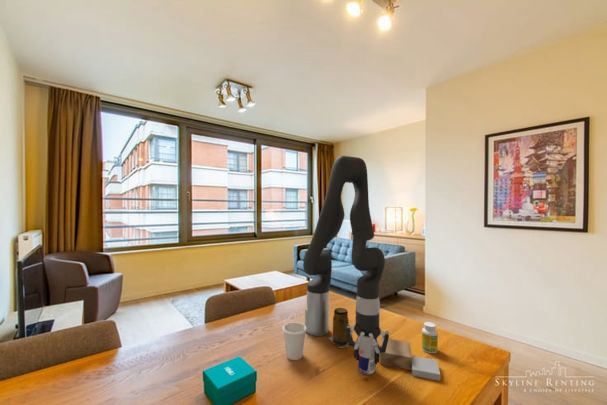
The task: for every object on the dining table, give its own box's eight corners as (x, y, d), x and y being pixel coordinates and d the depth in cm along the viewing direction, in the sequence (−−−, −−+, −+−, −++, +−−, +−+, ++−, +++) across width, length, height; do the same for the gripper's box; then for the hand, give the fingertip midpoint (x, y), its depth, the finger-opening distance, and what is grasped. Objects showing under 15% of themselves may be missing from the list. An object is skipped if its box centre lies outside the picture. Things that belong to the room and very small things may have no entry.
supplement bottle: (426, 344, 105) (427, 319, 105) (440, 351, 101) (440, 325, 101) (418, 348, 102) (419, 323, 102) (432, 355, 98) (432, 329, 98)
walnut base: (380, 363, 93) (380, 352, 92) (381, 348, 102) (381, 337, 102) (411, 369, 89) (411, 357, 89) (409, 353, 99) (410, 342, 99)
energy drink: (356, 365, 91) (356, 329, 91) (371, 364, 92) (372, 329, 92) (360, 375, 86) (361, 337, 86) (377, 375, 87) (378, 337, 86)
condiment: (343, 334, 112) (343, 305, 112) (355, 344, 105) (356, 313, 104) (327, 338, 109) (328, 308, 109) (339, 349, 101) (339, 317, 101)
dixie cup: (278, 359, 94) (278, 330, 94) (288, 347, 102) (288, 320, 102) (301, 364, 92) (301, 335, 91) (309, 351, 99) (309, 324, 99)
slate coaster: (412, 375, 87) (412, 369, 87) (410, 361, 94) (410, 355, 94) (440, 381, 84) (440, 374, 84) (436, 365, 92) (436, 360, 92)
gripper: (343, 310, 87) (342, 363, 88) (390, 317, 83) (389, 372, 83) (347, 302, 95) (346, 351, 95) (390, 308, 90) (390, 359, 90)
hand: (366, 360), depth 89 cm, fingers closed on energy drink, 5 cm apart
